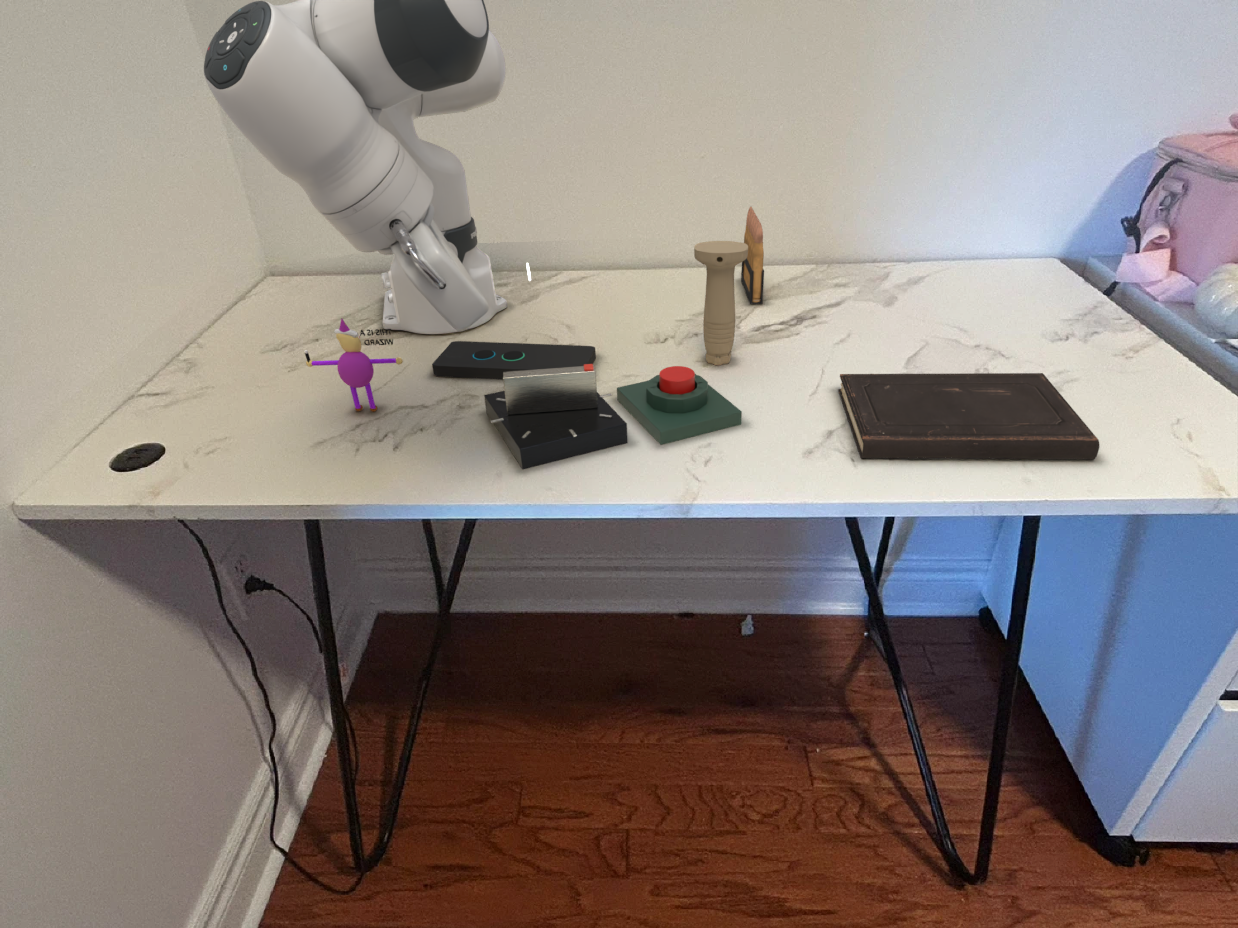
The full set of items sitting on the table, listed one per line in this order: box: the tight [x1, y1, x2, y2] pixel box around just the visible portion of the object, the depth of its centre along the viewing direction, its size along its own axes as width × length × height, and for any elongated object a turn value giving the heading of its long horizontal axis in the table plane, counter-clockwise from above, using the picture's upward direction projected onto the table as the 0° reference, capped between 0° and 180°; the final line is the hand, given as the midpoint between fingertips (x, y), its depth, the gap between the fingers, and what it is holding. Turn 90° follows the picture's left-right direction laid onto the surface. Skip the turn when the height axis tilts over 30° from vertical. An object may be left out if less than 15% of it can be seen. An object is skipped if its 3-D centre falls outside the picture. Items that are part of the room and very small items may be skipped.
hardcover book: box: [837, 372, 1100, 460], centre depth 90 cm, size 16×23×2 cm
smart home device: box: [431, 340, 597, 381], centre depth 107 cm, size 8×2×20 cm
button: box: [658, 365, 696, 394], centre depth 93 cm, size 4×4×2 cm
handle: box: [693, 240, 748, 367], centre depth 103 cm, size 5×6×15 cm
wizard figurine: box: [303, 317, 404, 413], centre depth 95 cm, size 11×3×12 cm, turn 89°
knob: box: [502, 363, 598, 415], centre depth 91 cm, size 10×2×5 cm, turn 95°
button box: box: [616, 373, 743, 446], centre depth 94 cm, size 12×10×4 cm
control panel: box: [483, 390, 628, 470], centre depth 93 cm, size 14×14×3 cm
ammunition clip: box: [740, 206, 765, 305], centre depth 125 cm, size 11×2×12 cm, turn 0°
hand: (474, 304), depth 81 cm, fingers closed
